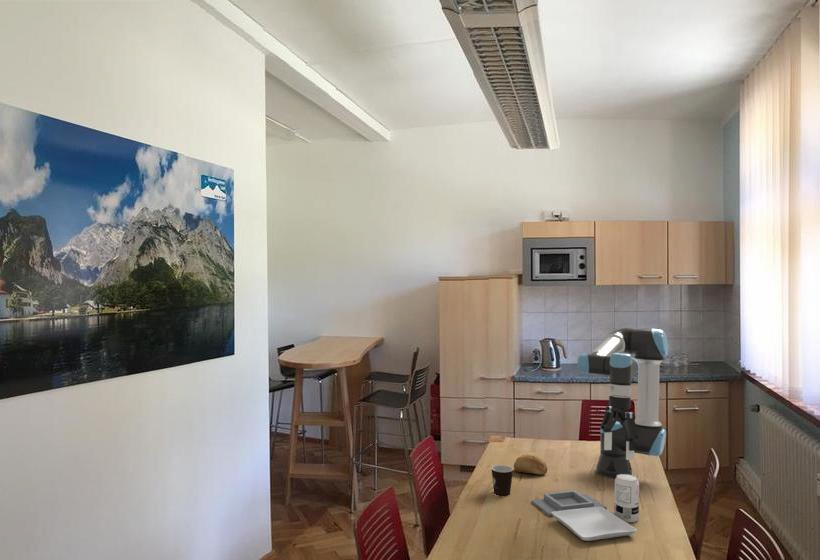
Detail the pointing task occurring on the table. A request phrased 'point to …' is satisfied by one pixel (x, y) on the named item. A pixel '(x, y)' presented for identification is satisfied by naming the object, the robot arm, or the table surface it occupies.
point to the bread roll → (530, 464)
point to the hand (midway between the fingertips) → (618, 454)
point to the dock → (565, 502)
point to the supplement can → (627, 497)
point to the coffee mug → (502, 479)
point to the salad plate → (593, 523)
